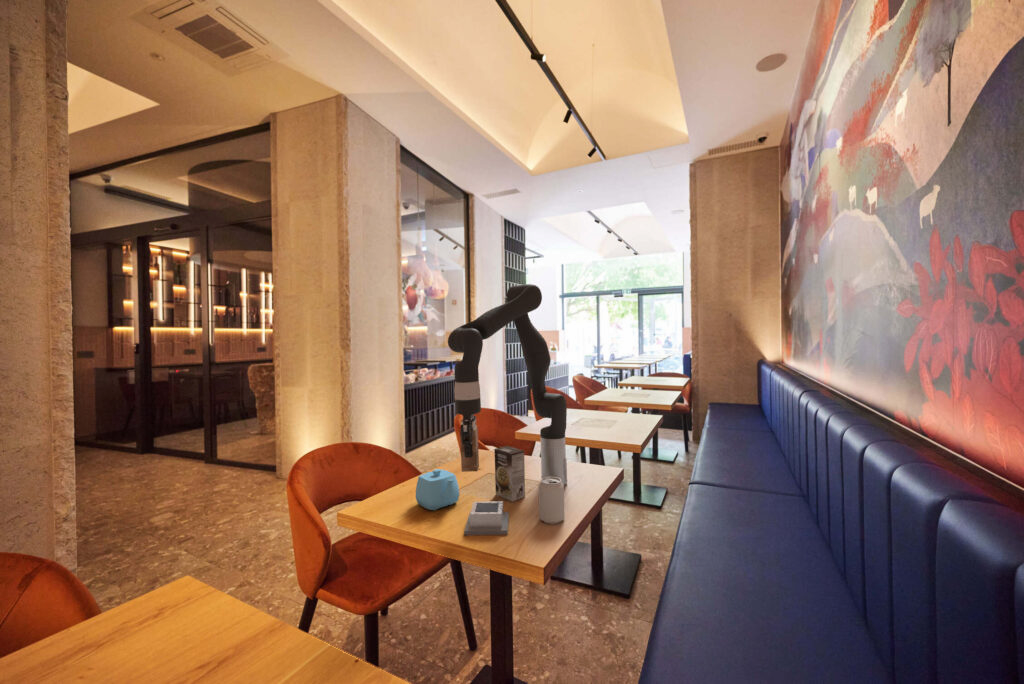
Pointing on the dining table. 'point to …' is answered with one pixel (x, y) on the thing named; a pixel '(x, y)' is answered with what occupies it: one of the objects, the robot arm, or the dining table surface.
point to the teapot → (437, 489)
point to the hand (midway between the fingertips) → (470, 454)
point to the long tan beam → (473, 461)
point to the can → (551, 500)
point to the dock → (487, 519)
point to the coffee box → (509, 473)
